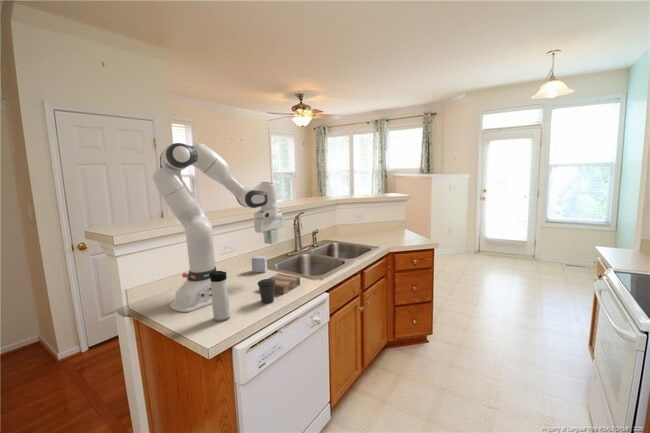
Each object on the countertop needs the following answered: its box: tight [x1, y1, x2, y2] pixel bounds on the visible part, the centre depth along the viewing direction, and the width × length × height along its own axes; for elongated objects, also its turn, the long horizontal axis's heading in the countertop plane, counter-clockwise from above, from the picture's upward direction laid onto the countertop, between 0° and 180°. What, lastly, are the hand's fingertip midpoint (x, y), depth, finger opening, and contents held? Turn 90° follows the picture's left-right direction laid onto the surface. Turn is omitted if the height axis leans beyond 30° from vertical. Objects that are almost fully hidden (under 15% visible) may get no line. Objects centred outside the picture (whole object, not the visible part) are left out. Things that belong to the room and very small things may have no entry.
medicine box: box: [251, 256, 268, 273], centre depth 177 cm, size 8×4×9 cm, turn 84°
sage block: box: [263, 229, 279, 245], centre depth 162 cm, size 5×5×7 cm
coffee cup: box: [257, 278, 276, 305], centre depth 135 cm, size 8×8×10 cm
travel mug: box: [209, 270, 231, 323], centre depth 120 cm, size 6×7×20 cm
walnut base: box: [267, 273, 301, 296], centre depth 152 cm, size 14×14×4 cm
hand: (270, 237), depth 162 cm, fingers closed on sage block, 5 cm apart
